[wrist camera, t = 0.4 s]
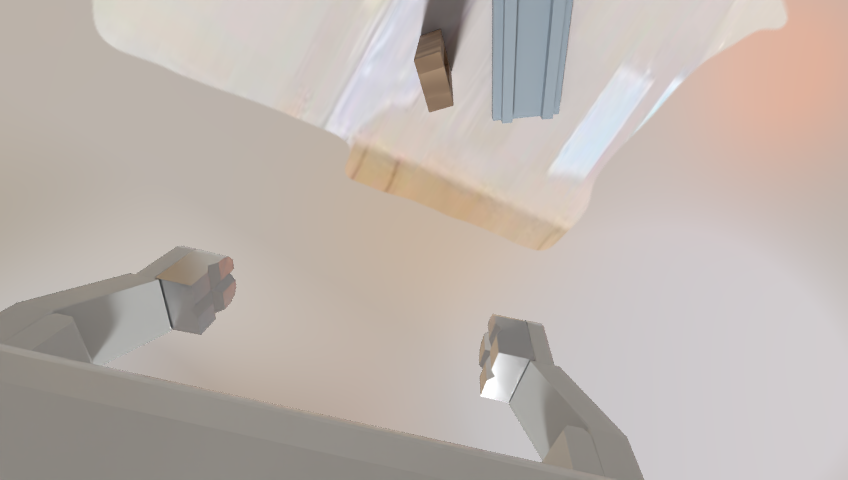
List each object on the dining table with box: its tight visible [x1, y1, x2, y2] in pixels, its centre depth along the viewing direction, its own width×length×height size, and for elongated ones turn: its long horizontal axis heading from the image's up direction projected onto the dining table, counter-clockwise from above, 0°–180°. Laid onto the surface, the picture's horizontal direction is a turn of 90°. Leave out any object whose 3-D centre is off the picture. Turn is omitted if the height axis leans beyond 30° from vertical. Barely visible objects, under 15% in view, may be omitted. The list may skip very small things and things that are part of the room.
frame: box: [414, 29, 453, 112], centre depth 45 cm, size 6×3×14 cm, turn 17°
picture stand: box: [492, 0, 573, 123], centre depth 48 cm, size 20×10×3 cm, turn 7°
